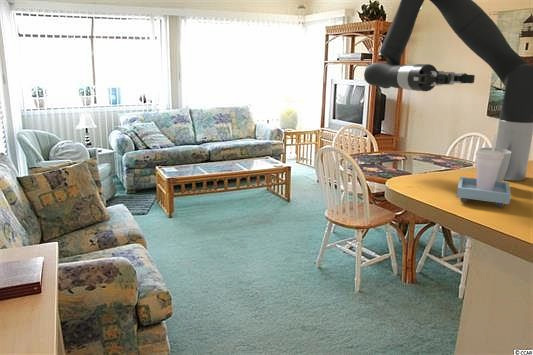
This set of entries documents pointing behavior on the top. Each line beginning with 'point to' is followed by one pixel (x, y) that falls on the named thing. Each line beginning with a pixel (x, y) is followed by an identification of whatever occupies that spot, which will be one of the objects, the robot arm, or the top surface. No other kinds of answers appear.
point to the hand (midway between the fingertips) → (461, 79)
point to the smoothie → (488, 167)
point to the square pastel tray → (483, 192)
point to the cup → (503, 163)
